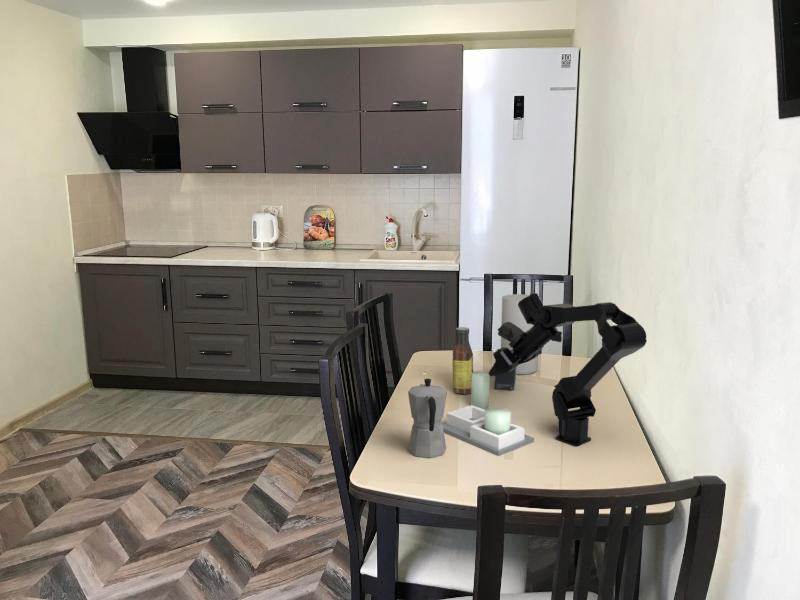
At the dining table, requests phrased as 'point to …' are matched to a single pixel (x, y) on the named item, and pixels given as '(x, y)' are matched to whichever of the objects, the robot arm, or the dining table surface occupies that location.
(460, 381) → the sauce bottle
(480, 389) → the pale green rounded block
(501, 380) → the small box
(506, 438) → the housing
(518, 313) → the cylinder vase
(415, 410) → the coffeepot
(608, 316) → the robot arm
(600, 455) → the dining table surface
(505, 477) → the dining table surface
